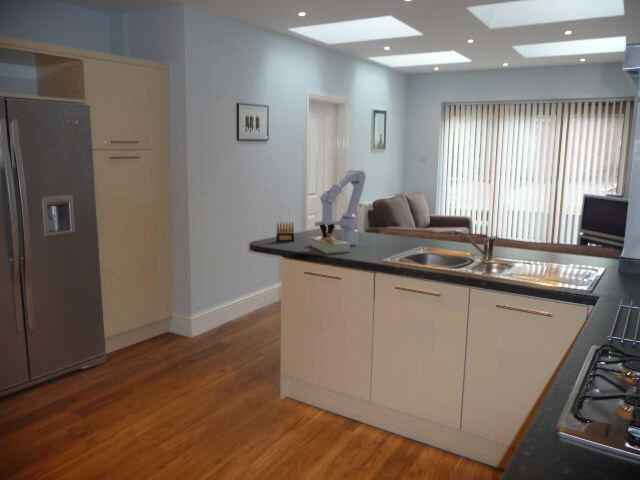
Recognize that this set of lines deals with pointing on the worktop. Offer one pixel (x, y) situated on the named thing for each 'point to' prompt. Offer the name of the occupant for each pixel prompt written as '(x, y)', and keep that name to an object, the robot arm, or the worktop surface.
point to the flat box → (331, 247)
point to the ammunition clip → (285, 233)
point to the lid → (326, 237)
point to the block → (328, 241)
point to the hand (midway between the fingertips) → (326, 237)
